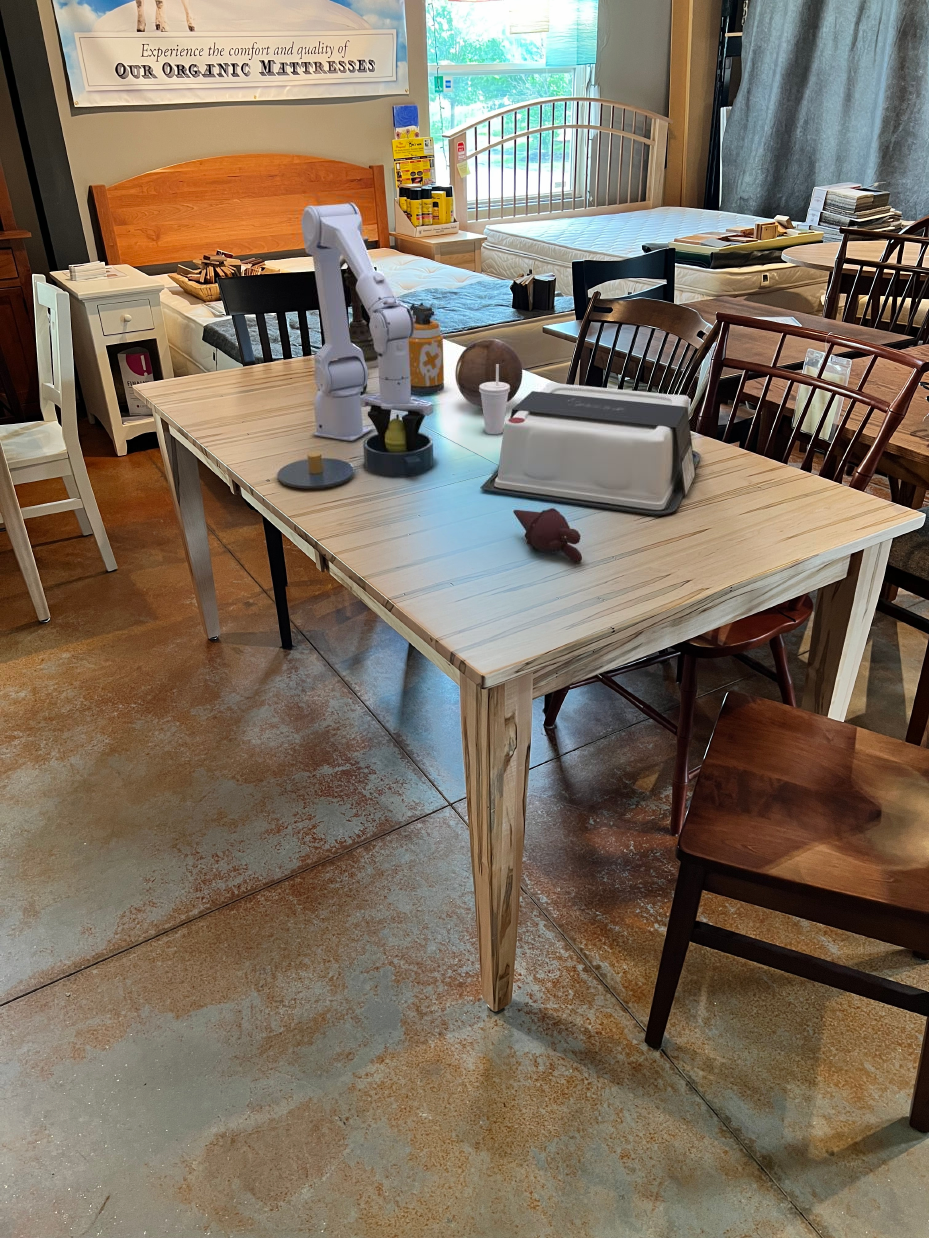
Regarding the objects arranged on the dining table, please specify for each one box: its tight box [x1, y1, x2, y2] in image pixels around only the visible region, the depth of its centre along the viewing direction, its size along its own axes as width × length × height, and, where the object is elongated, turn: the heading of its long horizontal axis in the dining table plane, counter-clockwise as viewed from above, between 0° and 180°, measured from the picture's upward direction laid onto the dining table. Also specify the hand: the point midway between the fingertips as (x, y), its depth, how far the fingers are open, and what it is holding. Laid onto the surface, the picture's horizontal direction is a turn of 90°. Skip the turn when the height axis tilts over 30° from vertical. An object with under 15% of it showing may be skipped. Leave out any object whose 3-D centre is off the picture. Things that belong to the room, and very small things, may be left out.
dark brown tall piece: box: [337, 236, 378, 369], centre depth 221 cm, size 17×13×35 cm
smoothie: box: [479, 364, 510, 435], centre depth 180 cm, size 6×6×14 cm
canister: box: [408, 302, 445, 396], centre depth 205 cm, size 9×11×20 cm
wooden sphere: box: [454, 338, 523, 409], centre depth 194 cm, size 15×15×15 cm
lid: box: [277, 451, 355, 489], centre depth 161 cm, size 14×14×4 cm
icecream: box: [512, 507, 583, 564], centre depth 133 cm, size 7×7×15 cm
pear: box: [385, 413, 408, 453], centre depth 164 cm, size 5×5×8 cm
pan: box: [362, 431, 434, 478], centre depth 166 cm, size 13×19×4 cm
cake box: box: [480, 382, 701, 516], centre depth 159 cm, size 35×33×12 cm
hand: (398, 447), depth 166 cm, fingers closed on pear, 5 cm apart
